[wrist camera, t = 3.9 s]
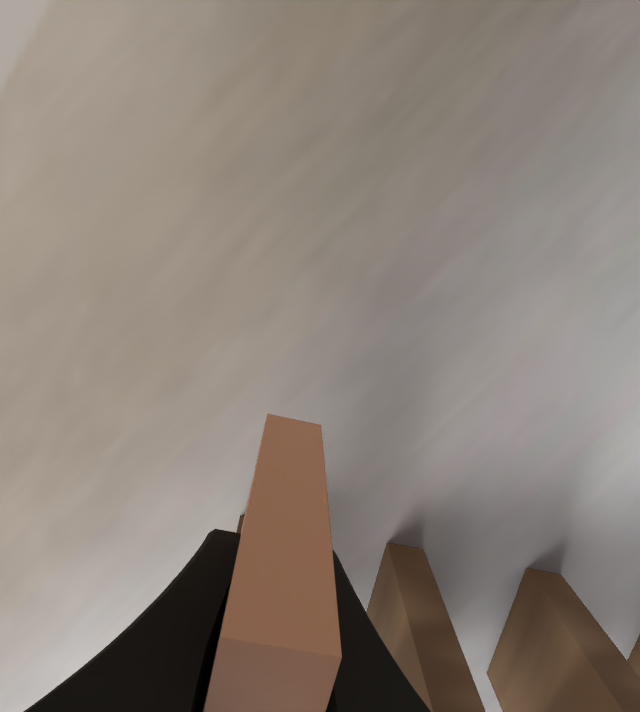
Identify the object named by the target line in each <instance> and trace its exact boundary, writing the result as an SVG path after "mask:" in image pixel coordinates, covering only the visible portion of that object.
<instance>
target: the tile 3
mask: <svg viewBox="0 0 640 712" xmlns="http://www.w3.org/2000/svg"><path fill="white" fill-rule="evenodd" d="M366 613H367V615H368V617H369V618H370V620H371V622H372V624H373V625H374V627H375V629H376V630H377V632H378V634H379V636H380V637H381V639H382V641H383V642H384V644H385V646H386V647H387V649H388V650H389V652H390V654H391V655H392V657H393V658H394V660H395V661H396V663H397V664H398V666H399V667H400V669H401V671H402V672H403V674H404V675H405V677H406V678H407V679H408V681H409V682H410V684H411V685H412V687H413V688H414V690H415V691H416V692H417V694H418V695H419V696H420V698H421V699H422V700H423V701H424V703H425V704H426V705H427V707H428V708H429V709H430V711H431V712H485V709H484V707H483V704H482V701H481V699H480V696H479V693H478V691H477V688H476V686H475V683H474V680H473V678H472V675H471V673H470V670H469V667H468V665H467V662H466V660H465V657H464V654H463V652H462V649H461V647H460V644H459V641H458V639H457V636H456V634H455V631H454V628H453V626H452V623H451V620H450V618H449V615H448V613H447V610H446V607H445V605H444V602H443V600H442V597H441V594H440V592H439V589H438V587H437V584H436V581H435V579H434V576H433V574H432V571H431V568H430V566H429V563H428V561H427V558H426V555H425V553H424V550H423V549H419V548H414V547H408V546H403V545H397V544H392V543H387V544H386V548H385V551H384V555H383V558H382V561H381V565H380V568H379V572H378V575H377V578H376V582H375V585H374V589H373V592H372V595H371V599H370V602H369V605H368V609H367V612H366Z"/></svg>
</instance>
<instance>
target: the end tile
mask: <svg viewBox="0 0 640 712" xmlns="http://www.w3.org/2000/svg"><path fill="white" fill-rule="evenodd" d="M627 662H628V663H629V664H630V665H631V667H632V668H633V669H634V671H635V672H636V673H637V675H638V676H639V677H640V635H639V637H638V639H637V641H636V644H635V646H634V648H633V650H632V652H631V655H630V657H629V659H628V661H627Z"/></svg>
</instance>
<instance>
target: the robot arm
mask: <svg viewBox="0 0 640 712" xmlns="http://www.w3.org/2000/svg"><path fill="white" fill-rule="evenodd" d="M240 537H241V534H240V533H235V532H229V531H224V530H218V529H215V530H213V531H211V532H210V533H209V534H208V535H207V537H206V539H205V540H204V542H203V543H202V545H201V546H200V548H199V549H198V551H197V552H196V553H195V555H194V556H193V557H192V558H191V560H190V561H189V562H188V563H187V565H186V566H185V567H184V568H183V570H182V571H181V572H180V573H179V574H178V575H177V576H176V578H175V579H174V580H173V581H172V582H171V583H170V584H169V586H168V587H167V588H166V589H165V590H164V591H163V592H162V593H161V594H160V596H159V597H158V598H157V599H156V600H155V601H154V602H153V603H152V604H151V605H150V606H149V607H148V608H147V609H146V610H145V611H144V612H143V613H142V614H141V615H140V616H139V617H138V618H137V619H136V620H135V621H134V622H133V623H132V624H131V625H130V626H129V627H127V628H126V629H125V630H124V631H123V632H122V633H121V634H120V635H119V636H118V637H117V638H116V639H114V640H113V641H112V642H111V643H110V644H109V645H108V646H107V647H105V648H104V649H103V650H102V651H101V652H100V653H98V654H97V655H96V656H95V657H94V658H92V659H91V660H90V661H89V662H88V663H87V664H85V665H84V666H83V667H82V668H80V669H79V670H78V671H77V672H75V673H74V674H73V675H72V676H70V677H69V678H68V679H66V680H65V681H64V682H63V683H61V684H60V685H59V686H57V687H56V688H55V689H53V690H52V691H51V692H50V693H48V694H47V695H46V696H44V697H43V698H42V699H40V700H39V701H38V702H36V703H35V704H34V705H32V706H31V707H29V708H28V709H27V710H25V711H24V712H202V709H203V705H204V700H205V696H206V691H207V687H208V682H209V678H210V673H211V669H212V665H213V660H214V656H215V651H216V647H217V642H218V638H219V633H220V629H221V624H222V620H223V615H224V611H225V606H226V602H227V598H228V593H229V589H230V584H231V580H232V575H233V571H234V566H235V561H236V556H237V552H238V547H239V542H240ZM332 553H333V564H334V575H335V587H336V598H337V609H338V620H339V631H340V642H341V653H342V658H341V662H340V665H339V669H338V672H337V675H336V679H335V682H334V685H333V689H332V692H331V695H330V699H329V702H328V705H327V709H326V712H431V711H430V709H429V708H428V707H427V705H426V704H425V703H424V701H423V700H422V699H421V698H420V696H419V695H418V694H417V692H416V691H415V690H414V688H413V687H412V685H411V684H410V682H409V681H408V679H407V678H406V677H405V675H404V674H403V672H402V671H401V669H400V667H399V666H398V664H397V663H396V661H395V660H394V658H393V657H392V655H391V654H390V652H389V650H388V649H387V647H386V646H385V644H384V642H383V641H382V639H381V637H380V636H379V634H378V632H377V630H376V629H375V627H374V625H373V624H372V622H371V620H370V618H369V617H368V615H367V613H366V611H365V610H364V608H363V606H362V604H361V602H360V600H359V598H358V597H357V595H356V593H355V591H354V589H353V587H352V585H351V583H350V581H349V579H348V577H347V575H346V573H345V571H344V569H343V567H342V565H341V563H340V561H339V559H338V556H337V555H336V553H335V552H334V550H332Z"/></svg>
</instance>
